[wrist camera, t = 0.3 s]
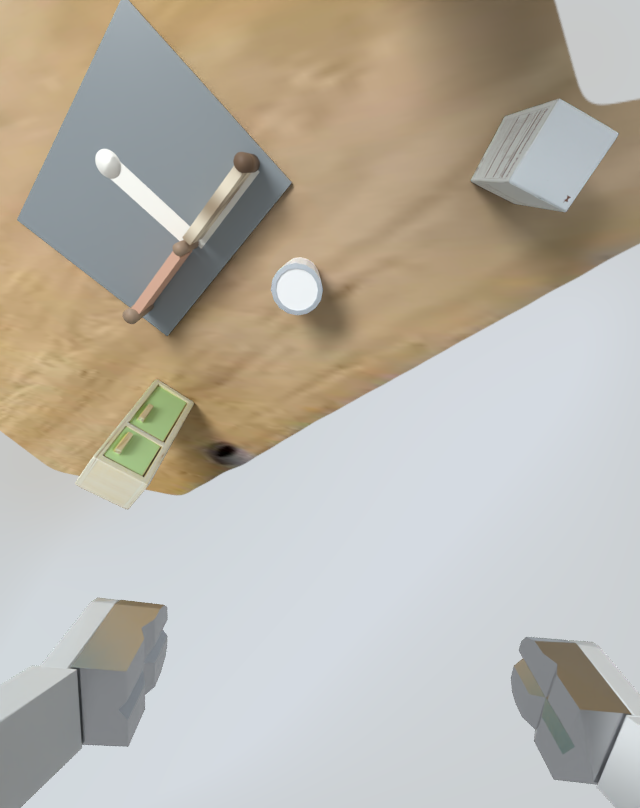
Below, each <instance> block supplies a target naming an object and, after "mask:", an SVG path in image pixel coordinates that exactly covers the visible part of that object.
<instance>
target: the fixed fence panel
mask: <svg viewBox="0 0 640 808" xmlns="http://www.w3.org/2000/svg"><path fill="white" fill-rule="evenodd" d="M233 163H234V166H233V168H232V169H231V171H230V172H229V173H228V175H227V176H226V177H225V179H224V180H223V182H222V183H221V184H220V186H219V187H218V189H217V190H216V191H215V193H214V194H213V196H212V197H211V198H210V200H209V201H208V203H207V204H206V205H205V207H204V208H203V209H202V211H201V212H200V214H199V215H198V216H197V218H196V219H195V221H194V222H193V223H192V225H191V226H190V228H189V229H188V230H187V232H186V233H185V235H184V236H183V237H182V238H183V239H184V240H185V241H186V242H187V243H188V244H189V245H191V244H193V243H195V242H197V241H199V240H201V239H202V238H203V237H204V235H205V234H206V233H207V231H208V230H209V229H210V227H211V226H212V225H213V223H214V222H215V221H216V219H217V218H218V217H219V215H220V214H221V213H222V211H223V210H224V209H225V207H226V206H227V205H228V203H229V202H230V201H231V199H232V198H233V197H234V195H235V194H236V193H237V191H238V190H239V189H240V187H241V186H242V185H243V183H244V182H245V181H246V179H247V178H248V177H249V175H250V174H251V173H254V172H256V171H257V170H258V169H259V166H260V162H259V159H258V157H257V156H256V155H254V154H250V153H246V152H238V153H237V154H236V155H235V156H234V160H233Z"/></svg>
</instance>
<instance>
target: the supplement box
mask: <svg viewBox="0 0 640 808" xmlns="http://www.w3.org/2000/svg"><path fill="white" fill-rule="evenodd" d="M618 134H619V133H618V132H616V131H614V130H613V129H611V128H610V127H608V126H606V125H605V124H603V123H601V122H599V121H598V120H596V119H594V118H593V117H591V116H589V115H588V114H586V113H584V112H582V111H581V110H579V109H577V108H576V107H574V106H572V105H570V104H569V103H567V102H565V101H563V100H561V99H557V100H553V101H550V102H547V103H544V104H541V105H538V106H534V107H531V108H528V109H525V110H522V111H519V112H516V113H513V114H510V115H507V116H505V117H504V119H503V121H502V123H501V124H500V126H499V128H498V130H497V132H496V134H495V135H494V137H493V139H492V141H491V143H490V145H489V147H488V149H487V150H486V152H485V154H484V156H483V158H482V160H481V162H480V163H479V165H478V167H477V169H476V171H475V173H474V175H473V177H472V179H471V182H473V183H475V184H476V185H478V186H480V187H482V188H484V189H486V190H488V191H490V192H492V193H494V194H496V195H498V196H500V197H502V198H504V199H506V200H508V201H510V202H512V203H514V204H518V205H525V206H531V207H537V208H543V209H549V210H555V211H561V212H567V210H568V209H569V207H570V206H571V204H572V203H573V201H574V200H575V198H576V197H577V195H578V194H579V192H580V191H581V189H582V188H583V186H584V185H585V184H586V182H587V181H588V179H589V178H590V176H591V175H592V173H593V172H594V170H595V169H596V167H597V166H598V165H599V163H600V162H601V160H602V159H603V157H604V156H605V154H606V153H607V151H608V150H609V148H610V147H611V145H612V144H613V143H614V141H615V139H616V138H617V136H618Z"/></svg>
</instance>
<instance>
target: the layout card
mask: <svg viewBox="0 0 640 808" xmlns="http://www.w3.org/2000/svg"><path fill="white" fill-rule="evenodd" d="M238 152H246V153H250V154H254V155H256V156H257V157H258V159H259V162H260V166H259V169H258V170H257V171H256V172H254V173H251V174H250V175H249V177H248V178H247V179H246V181H245V182H244V183H243V185H242V186H241V187H240V189H239V190H238V191H237V193H236V194H235V195H234V197H233V198H232V199H231V201H230V202H229V203H228V205H227V206H226V207H225V209H224V210H223V211H222V213H221V214H220V215H219V217H218V218H217V219H216V221H215V222H214V223H213V225H212V226H211V227H210V229H209V230H208V231H207V233H206V234H205V235H204V237H203V238H202V239H201V240H199V245H198V247H197V248H195V249H194V250H192V252H191V254H190V255H189V256H188V258H187V259H186V260H185V262H184V263H183V264H182V266H181V267H180V268H179V270H178V271H177V272H176V274H175V275H174V277H173V278H172V279H171V281H170V282H169V283H168V285H167V286H166V287H165V289H164V290H163V291H162V293H161V294H160V295H159V297H158V298H157V299H156V301H155V302H154V303H153V304H154V308H153V309H152V310H151V311H150V312H149V313H147V314H146V315H145V316H143V318H144V319H146V320H147V321H148V322H149V323H151V324H152V325H153V326H155V327H156V328H157V329H159V330H160V331H161V332H162V333H164V334H165V335H166V336H168V335H169V334H170V332H171V331H172V330H173V329H174V328H175V326H176V325H177V324H178V323H179V321H180V320H181V319H182V318H183V316H184V315H185V314H186V313H187V311H188V310H189V309H190V308H191V307H192V305H193V304H194V303H195V302H196V300H197V299H198V298H199V297H200V295H201V294H202V293H203V292H204V291H205V289H206V288H207V287H208V286H209V284H210V283H211V282H212V281H213V279H214V278H215V277H216V276H217V274H218V273H219V272H220V271H221V270H222V268H223V267H224V266H225V265H226V263H227V262H228V261H229V260H230V258H231V257H232V256H233V255H234V254H235V252H236V251H237V250H238V249H239V247H240V246H241V245H242V244H243V242H244V241H245V240H246V239H247V237H248V236H249V235H250V234H251V233H252V231H253V230H254V229H255V228H256V226H257V225H258V224H259V223H260V221H261V220H262V219H263V218H264V217H265V215H266V214H267V213H268V212H269V210H270V209H271V208H272V207H273V205H274V204H275V203H276V202H277V201H278V199H279V198H280V197H281V196H282V194H283V193H284V192H285V191H286V189H287V188H288V187H289V186H290V184H291V183H292V182H291V181H290V180H289V179H288V178H287V177H286V175H285V174H284V173H283V172H282V171H281V170H280V169H279V168H278V166H277V165H276V164H275V163H274V162H273V161H272V160H271V159H270V158H269V156H268V155H267V154H266V153H265V152H264V151H263V150H262V149H261V147H260V146H259V145H258V144H257V143H256V142H255V141H254V140H253V139H252V137H251V136H250V135H249V134H248V133H247V132H246V131H245V130H244V129H243V127H242V126H241V125H240V124H239V123H238V122H237V121H236V120H235V118H234V117H233V116H232V115H231V114H230V113H229V112H228V111H227V110H226V108H225V107H224V106H223V105H222V104H221V103H220V102H219V101H218V99H217V98H216V97H215V96H214V95H213V94H212V93H211V92H210V91H209V89H208V88H207V87H206V86H205V85H204V84H203V83H202V82H201V80H200V79H199V78H198V77H197V76H196V75H195V74H194V73H193V72H192V70H191V69H190V68H189V67H188V66H187V65H186V64H185V63H184V62H183V60H182V59H181V58H180V57H179V56H178V55H177V54H176V53H175V51H174V50H173V49H172V48H171V47H170V46H169V45H168V44H167V43H166V41H165V40H164V39H163V38H162V37H161V36H160V35H159V34H158V32H157V31H156V30H155V29H154V28H153V27H152V26H151V25H150V24H149V22H148V21H147V20H146V19H145V18H144V17H143V16H142V15H141V13H140V12H139V11H138V10H137V9H136V8H135V7H134V6H133V5H132V3H131V2H130V1H129V0H121V1H120V3H119V5H118V7H117V9H116V12H115V14H114V16H113V18H112V20H111V22H110V24H109V26H108V29H107V31H106V33H105V35H104V37H103V39H102V41H101V43H100V45H99V48H98V50H97V52H96V54H95V56H94V58H93V60H92V62H91V64H90V67H89V69H88V71H87V73H86V75H85V77H84V79H83V81H82V84H81V86H80V88H79V90H78V92H77V94H76V96H75V98H74V100H73V103H72V105H71V107H70V109H69V111H68V113H67V115H66V117H65V119H64V122H63V124H62V126H61V128H60V130H59V132H58V134H57V136H56V139H55V141H54V143H53V145H52V147H51V149H50V151H49V153H48V155H47V158H46V160H45V162H44V164H43V166H42V168H41V170H40V172H39V174H38V177H37V179H36V181H35V183H34V185H33V187H32V189H31V191H30V194H29V196H28V198H27V200H26V202H25V204H24V206H23V208H22V210H21V213H20V215H19V217H18V219H17V220H18V221H19V222H20V223H22V224H23V225H24V226H26V227H27V228H28V229H29V230H31V231H32V232H33V233H35V234H36V235H37V236H38V237H40V238H41V239H42V240H44V241H45V242H46V243H48V244H49V245H50V246H51V247H53V248H54V249H55V250H57V251H58V252H59V253H60V254H62V255H63V256H64V257H66V258H67V259H68V260H69V261H71V262H72V263H73V264H75V265H76V266H77V267H79V268H80V269H81V270H82V271H84V272H85V273H86V274H88V275H89V276H90V277H91V278H93V279H94V280H95V281H97V282H98V283H99V284H100V285H102V286H103V287H104V288H106V289H107V290H108V291H109V292H111V293H112V294H113V295H115V296H116V297H117V298H119V299H120V300H121V301H122V302H124V303H125V304H126V305H128V306H129V307H131V306H133V305H134V304H135V303H136V301H137V300H138V299H139V297H140V296H141V294H142V293H143V292H144V290H145V289H146V287H147V286H148V285H149V283H150V282H151V280H152V279H153V278H154V276H155V275H156V273H157V272H158V271H159V269H160V268H161V267H162V265H163V264H164V262H165V261H166V260H167V258H168V257H169V255H170V254H171V253H172V251H173V245H174V244H175V243H177V242H179V241H182V240H184V239H183V238H182V237H183V236H184V235H185V233H186V232H187V230H188V229H189V228H190V226H191V225H192V223H193V222H194V221H195V219H196V218H197V216H198V215H199V214H200V212H201V211H202V209H203V208H204V207H205V205H206V204H207V203H208V201H209V200H210V198H211V197H212V196H213V194H214V193H215V191H216V190H217V189H218V187H219V186H220V184H221V183H222V182H223V180H224V179H225V177H226V176H227V175H228V173H229V172H230V171H231V169H232V168H233V166H234V163H233V160H234V156H235V155H236V154H237V153H238Z"/></svg>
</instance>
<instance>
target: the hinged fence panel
mask: <svg viewBox="0 0 640 808" xmlns="http://www.w3.org/2000/svg"><path fill="white" fill-rule="evenodd" d="M198 245H199V241H197V242H195V243H193V244H191V245H189V244H188V243H187V242H186V241H185V240H182V241H179V242H177V243H175V244H174V245H173V251H172V253H171V254H170V255H169V257H168V258H167V260H166V261H165V262H164V264H163V265H162V267H161V268H160V269H159V271H158V272H157V273H156V275H155V276H154V278H153V279H152V280H151V282H150V283H149V285H148V286H147V287H146V289H145V290H144V292H143V293H142V294H141V296H140V297H139V299H138V300H137V301H136V303H135V304H134V305H133V306H131V307H130V308H128V309H127V310H125V311H124V312H123V318H124V320H125V321H126V322H127V323H130V324H134V323H136V322H137V321H138V320H140V319H141V318H142V317H143V316H145V315H146V314H147V313H149V312H150V311H151V310H152V309H153V308H154V304H153V303H154V302H155V301H156V299H157V298H158V297H159V295H160V294H161V293H162V291H163V290H164V289H165V287H166V286H167V285H168V283H169V282H170V281H171V279H172V278H173V277H174V275H175V274H176V272H177V271H178V270H179V268H180V267H181V266H182V264H183V263H184V262H185V260H186V259H187V258H188V256H189V255H190V254H191V252H192V250H194V249H195V248H197V247H198Z"/></svg>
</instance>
